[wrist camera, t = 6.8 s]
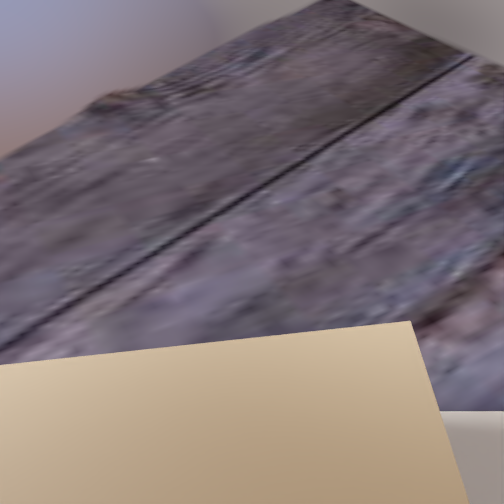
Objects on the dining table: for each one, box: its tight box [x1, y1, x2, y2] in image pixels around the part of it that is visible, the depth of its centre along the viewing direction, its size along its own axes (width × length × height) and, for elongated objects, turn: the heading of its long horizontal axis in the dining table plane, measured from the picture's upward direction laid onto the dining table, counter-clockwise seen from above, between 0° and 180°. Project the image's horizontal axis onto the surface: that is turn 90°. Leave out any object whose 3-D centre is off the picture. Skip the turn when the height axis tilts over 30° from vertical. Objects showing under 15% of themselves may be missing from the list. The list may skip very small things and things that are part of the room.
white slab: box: [440, 411, 504, 504], centre depth 16 cm, size 7×7×4 cm
